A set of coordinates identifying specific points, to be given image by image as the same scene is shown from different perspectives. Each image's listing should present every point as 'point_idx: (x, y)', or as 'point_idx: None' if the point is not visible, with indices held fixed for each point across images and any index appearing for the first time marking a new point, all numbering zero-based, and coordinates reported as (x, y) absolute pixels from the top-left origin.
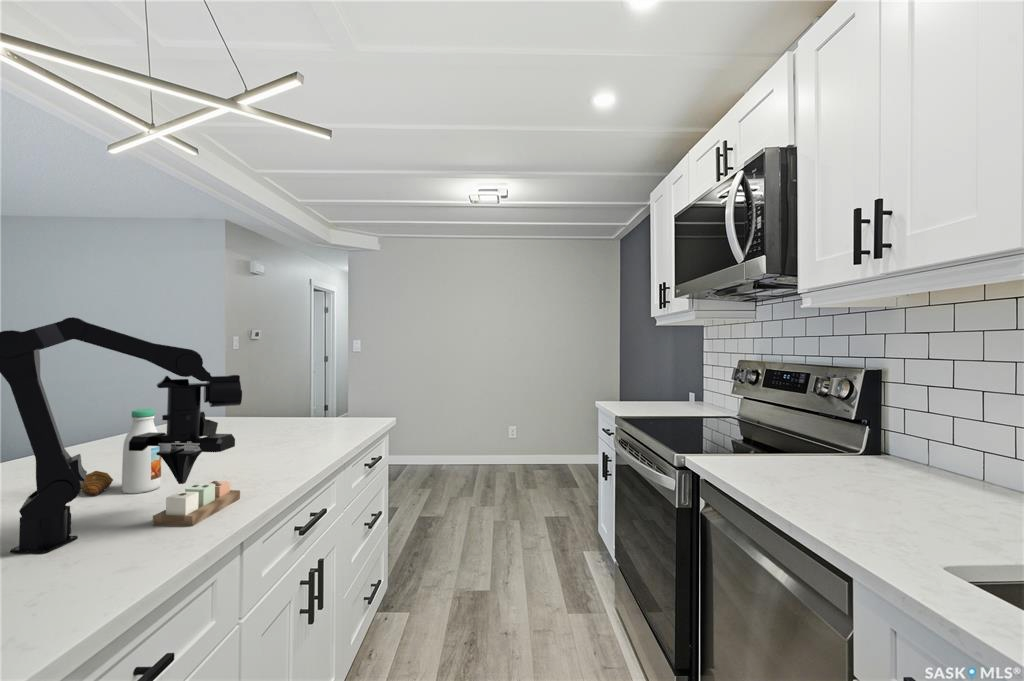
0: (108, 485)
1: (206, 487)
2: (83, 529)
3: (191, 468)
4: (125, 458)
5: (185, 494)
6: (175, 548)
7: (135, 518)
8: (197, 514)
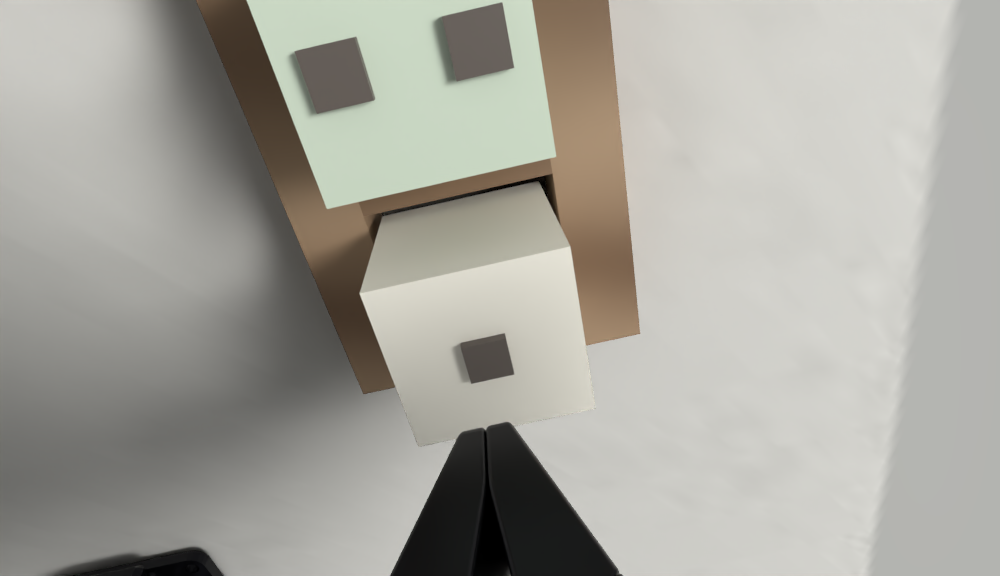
0: None
1: (521, 70)
2: (55, 480)
3: (607, 556)
4: None
5: (508, 345)
6: (735, 492)
7: (110, 294)
8: (634, 285)
